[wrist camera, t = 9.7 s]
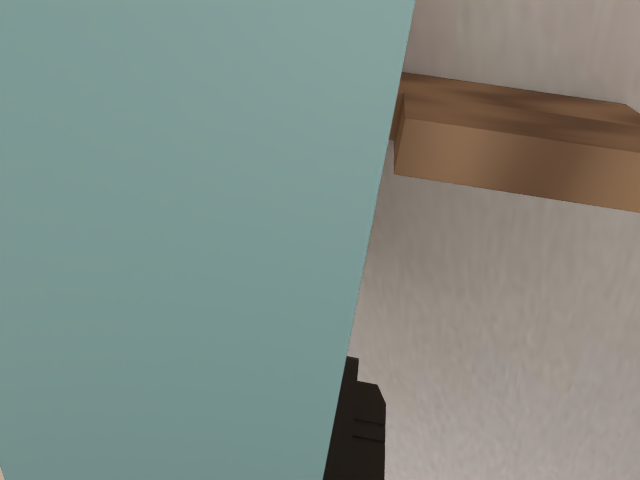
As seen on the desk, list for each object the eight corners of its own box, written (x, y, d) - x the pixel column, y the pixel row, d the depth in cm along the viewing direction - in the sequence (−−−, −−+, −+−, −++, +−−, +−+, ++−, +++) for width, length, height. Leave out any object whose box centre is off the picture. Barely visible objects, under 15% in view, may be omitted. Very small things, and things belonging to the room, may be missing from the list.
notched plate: (404, -85, 10) (510, -489, 1) (321, 401, 17) (247, 869, 8) (305, -98, 10) (-361, -572, 1) (265, 390, 17) (130, 841, 8)
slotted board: (625, 104, 21) (715, 164, 15) (606, 147, 22) (683, 219, 16) (99, 28, 23) (-7, 56, 17) (104, 72, 24) (6, 113, 18)
